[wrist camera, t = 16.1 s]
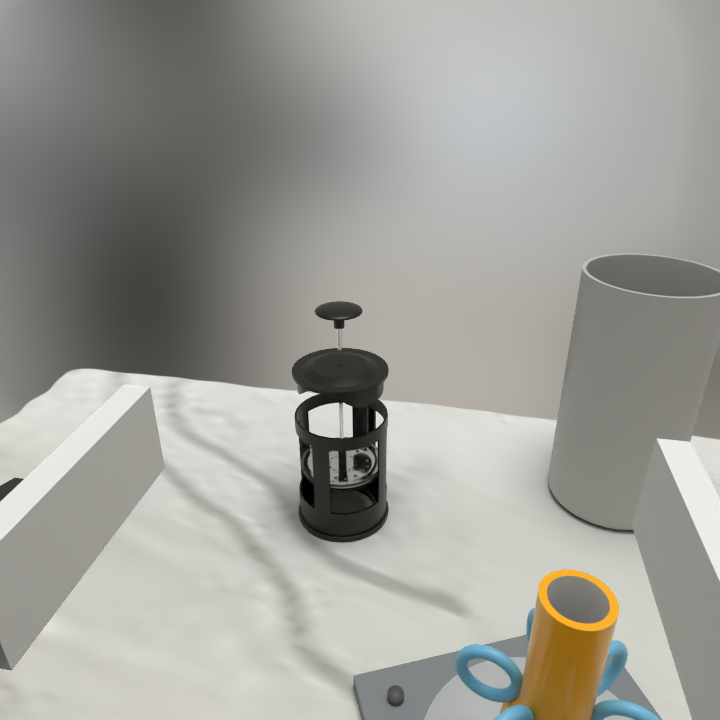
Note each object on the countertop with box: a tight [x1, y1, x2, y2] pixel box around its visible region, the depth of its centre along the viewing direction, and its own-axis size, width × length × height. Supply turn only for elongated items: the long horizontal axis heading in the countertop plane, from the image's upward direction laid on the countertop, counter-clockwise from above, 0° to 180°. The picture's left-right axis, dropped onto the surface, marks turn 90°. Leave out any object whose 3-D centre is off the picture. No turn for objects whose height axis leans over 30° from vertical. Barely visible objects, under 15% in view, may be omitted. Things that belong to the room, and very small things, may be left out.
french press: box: [292, 301, 388, 542], centre depth 59 cm, size 12×9×23 cm
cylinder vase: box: [548, 254, 720, 530], centre depth 60 cm, size 12×12×25 cm
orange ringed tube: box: [455, 570, 660, 720], centre depth 35 cm, size 12×10×15 cm
